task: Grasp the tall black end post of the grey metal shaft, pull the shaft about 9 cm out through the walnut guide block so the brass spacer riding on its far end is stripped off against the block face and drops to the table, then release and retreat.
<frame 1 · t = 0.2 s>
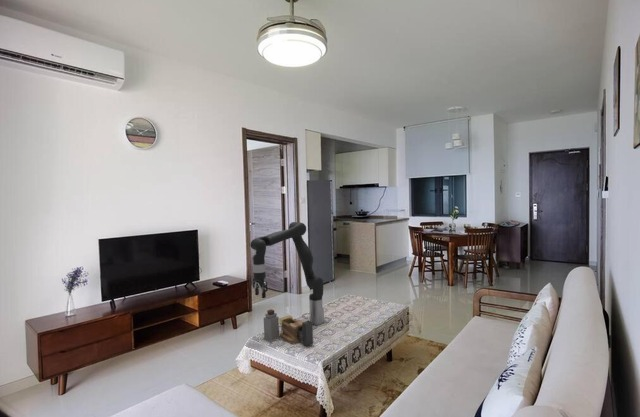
hand: (260, 296, 220), 29 cm above the table, fingers open, 8 cm apart
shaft: (296, 327, 225), point 7 cm above the table, slide at 0.0 cm, touching spacer
perfume bottle: (271, 338, 227), on the table
guide block: (294, 337, 227), on the table
spacer: (286, 323, 234), point 7 cm above the table, touching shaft
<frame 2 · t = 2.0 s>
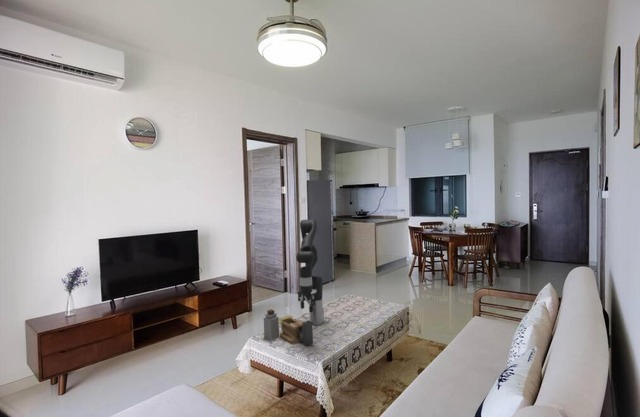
hand: (306, 310, 215), 22 cm above the table, fingers open, 8 cm apart
nothing on the table moved.
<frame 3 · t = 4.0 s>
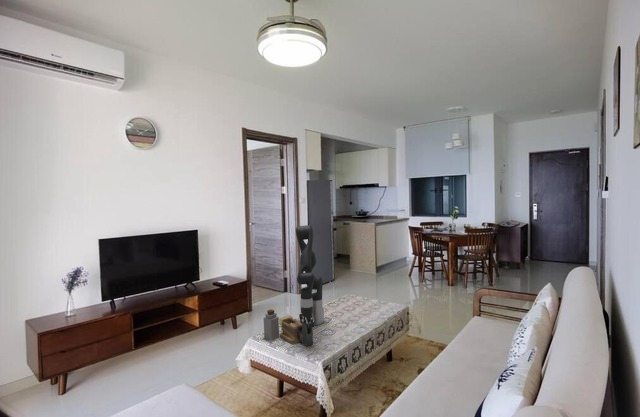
hand: (307, 332, 215), 8 cm above the table, fingers closed on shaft, 4 cm apart
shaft: (296, 327, 225), point 7 cm above the table, slide at 0.0 cm, touching gripper, spacer
everything else where it was.
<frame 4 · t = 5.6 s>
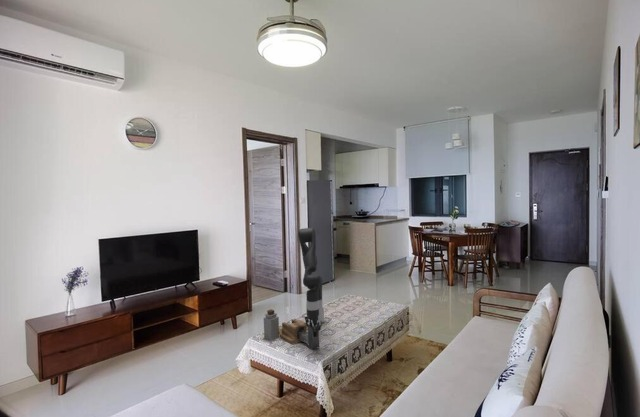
hand: (313, 335, 211), 8 cm above the table, fingers closed on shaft, 4 cm apart
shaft: (301, 330, 220), point 7 cm above the table, slide at 6.0 cm, touching gripper
spacer: (286, 330, 234), point 2 cm above the table, tilted 90°
everything else where it was.
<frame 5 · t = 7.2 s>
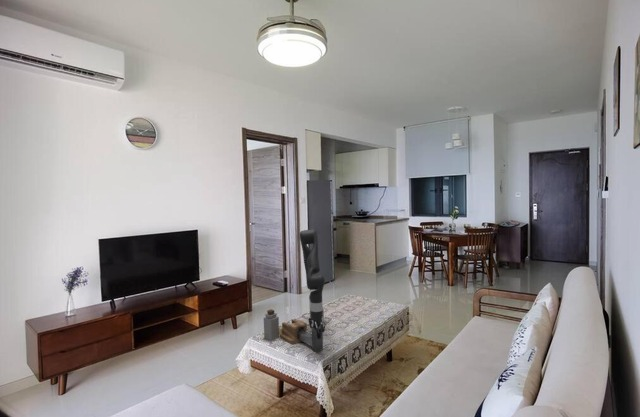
hand: (317, 337, 208), 8 cm above the table, fingers closed on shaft, 4 cm apart
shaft: (305, 332, 217), point 7 cm above the table, slide at 9.5 cm, touching gripper
everything else where it was.
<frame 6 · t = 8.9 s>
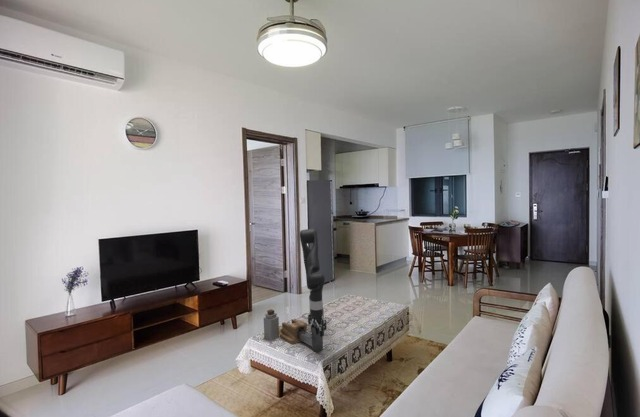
hand: (317, 334, 208), 10 cm above the table, fingers open, 8 cm apart
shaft: (305, 332, 217), point 7 cm above the table, slide at 9.5 cm
everything else where it was.
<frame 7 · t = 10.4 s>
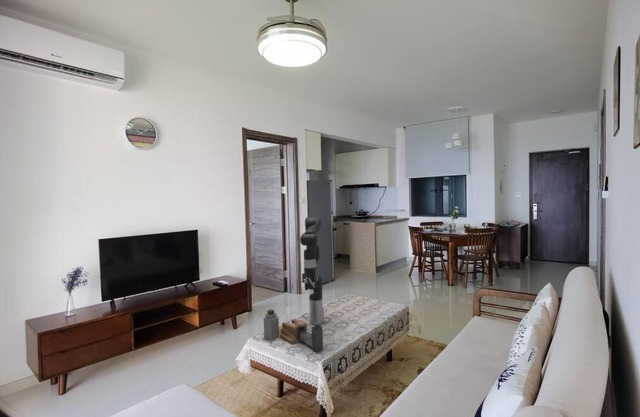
hand: (310, 291, 219), 31 cm above the table, fingers open, 8 cm apart
nothing on the table moved.
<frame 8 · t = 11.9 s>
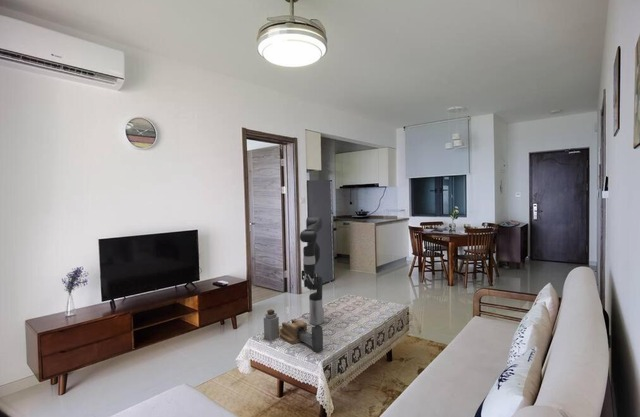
hand: (310, 288, 221), 33 cm above the table, fingers open, 8 cm apart
nothing on the table moved.
at the end: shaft slide at 9.5 cm; spacer point 1.8 cm above the table; spacer touching table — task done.
